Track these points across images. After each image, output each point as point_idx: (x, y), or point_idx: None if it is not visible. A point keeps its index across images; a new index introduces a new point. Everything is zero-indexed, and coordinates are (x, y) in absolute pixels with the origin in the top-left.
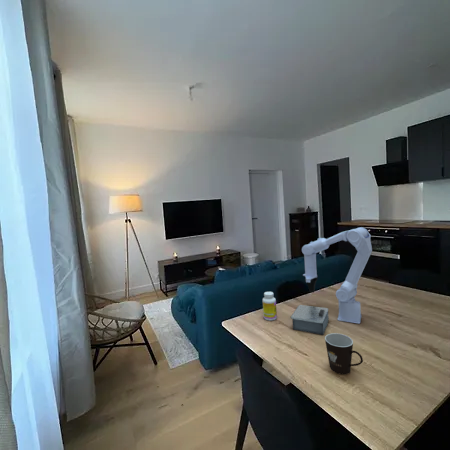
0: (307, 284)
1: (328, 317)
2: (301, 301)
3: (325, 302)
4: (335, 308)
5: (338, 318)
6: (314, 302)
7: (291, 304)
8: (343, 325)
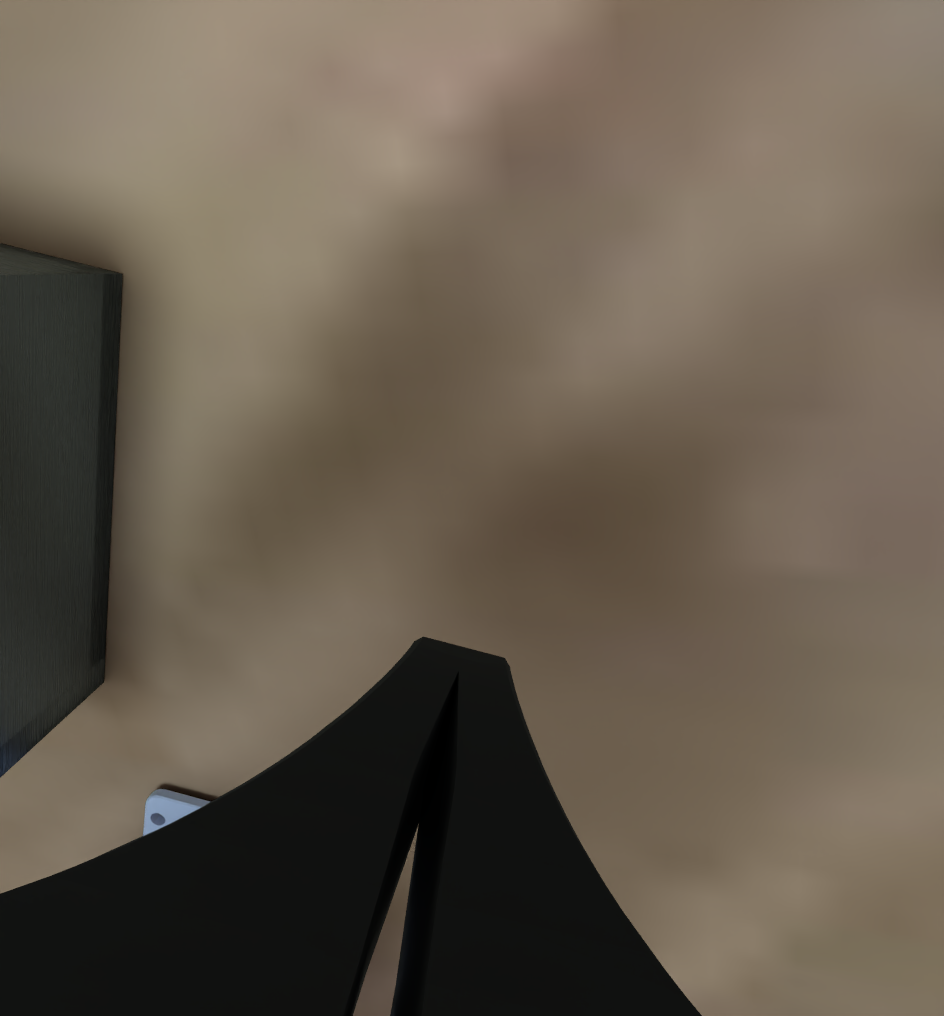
0: (204, 810)
1: (64, 715)
2: (940, 271)
3: (846, 736)
4: (574, 830)
5: (177, 811)
6: (856, 551)
7: (741, 7)
8: (50, 817)
